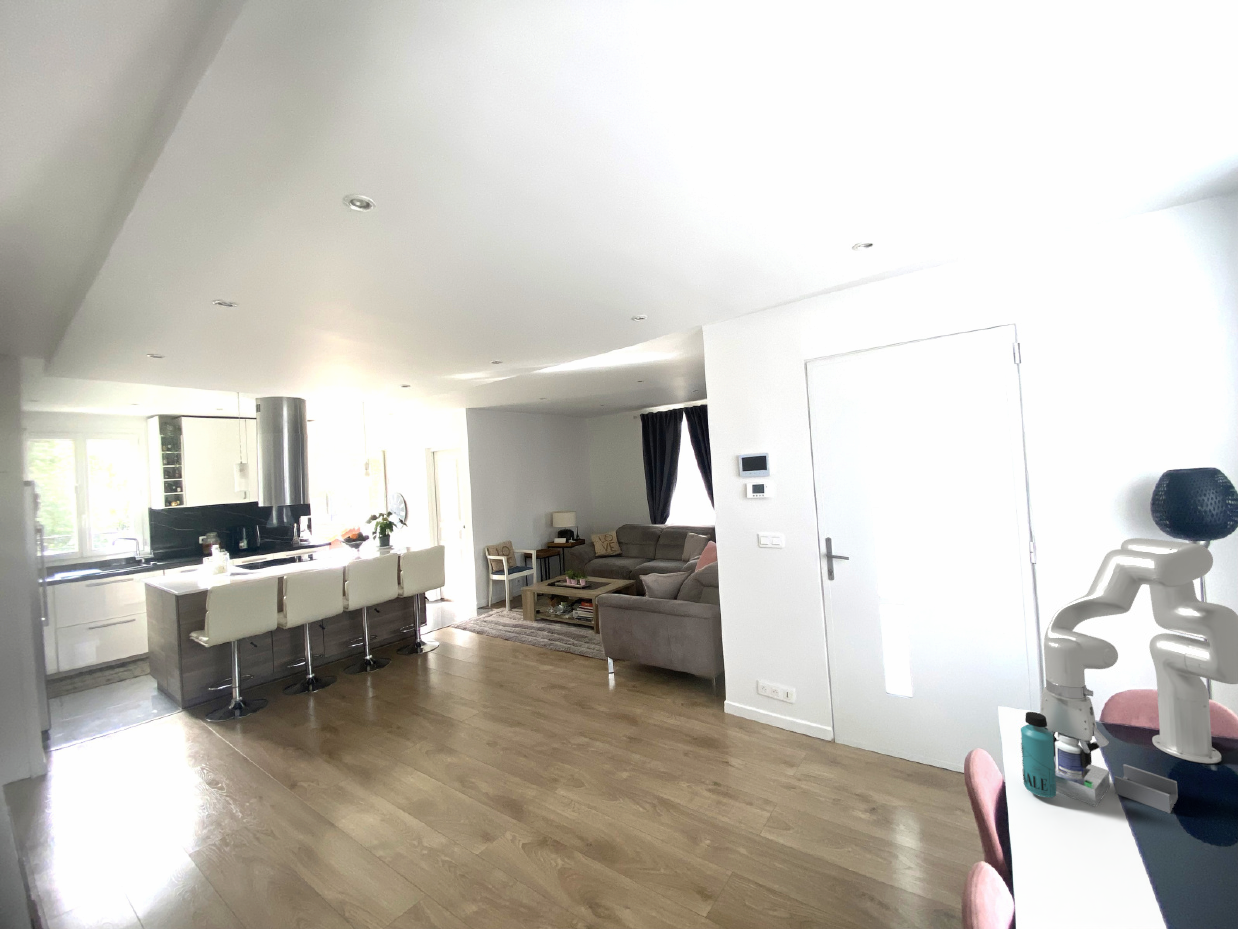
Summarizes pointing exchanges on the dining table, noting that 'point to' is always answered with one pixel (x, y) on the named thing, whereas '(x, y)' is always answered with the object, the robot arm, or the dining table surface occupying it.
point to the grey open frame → (1147, 788)
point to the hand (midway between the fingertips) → (1069, 759)
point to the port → (1084, 784)
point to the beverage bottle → (1038, 756)
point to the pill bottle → (1068, 756)
